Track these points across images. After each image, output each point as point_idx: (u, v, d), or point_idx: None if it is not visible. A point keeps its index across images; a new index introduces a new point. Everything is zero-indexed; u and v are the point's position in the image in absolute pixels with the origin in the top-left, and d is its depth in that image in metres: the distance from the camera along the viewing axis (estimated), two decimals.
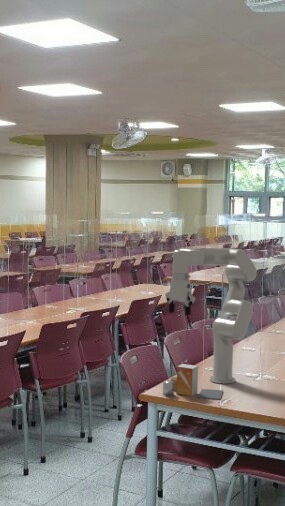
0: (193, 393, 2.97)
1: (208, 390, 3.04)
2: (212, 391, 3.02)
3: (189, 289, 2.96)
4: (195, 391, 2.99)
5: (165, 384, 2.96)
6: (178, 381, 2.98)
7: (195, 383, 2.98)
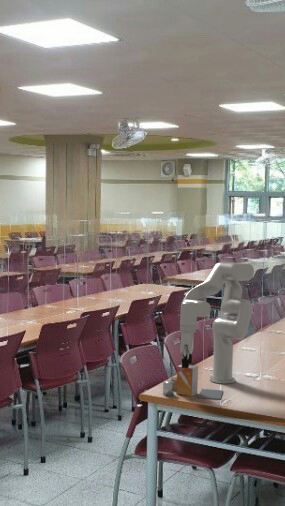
0: (193, 393, 2.97)
1: (208, 390, 3.04)
2: (212, 391, 3.02)
3: None
4: (195, 391, 2.99)
5: (165, 384, 2.96)
6: (178, 381, 2.98)
7: (195, 383, 2.98)
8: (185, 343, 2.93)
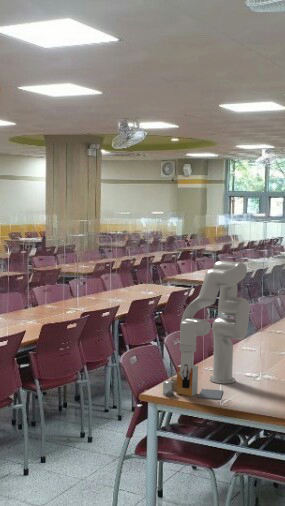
0: (193, 393, 2.97)
1: (208, 390, 3.04)
2: (212, 391, 3.02)
3: None
4: (195, 391, 2.99)
5: (165, 384, 2.96)
6: (178, 381, 2.98)
7: (195, 383, 2.98)
8: (185, 363, 2.94)
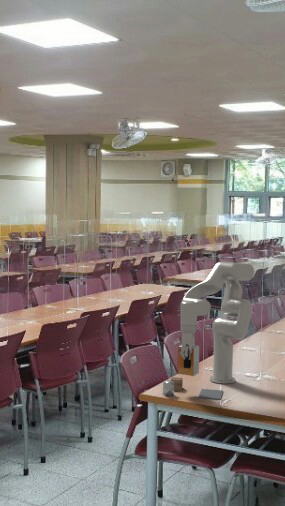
0: (195, 373, 2.97)
1: (208, 390, 3.04)
2: (212, 391, 3.02)
3: None
4: (197, 371, 2.99)
5: (165, 384, 2.96)
6: (179, 361, 2.98)
7: (196, 362, 2.98)
8: (186, 343, 2.94)
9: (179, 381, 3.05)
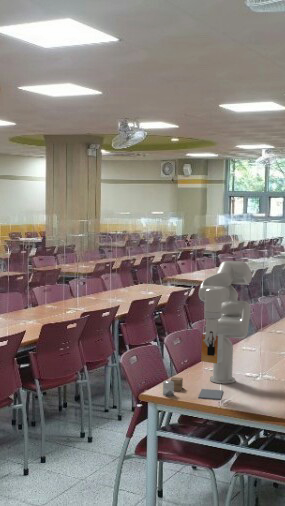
0: (218, 360, 2.95)
1: (208, 390, 3.04)
2: (212, 391, 3.02)
3: None
4: (220, 359, 2.97)
5: (165, 384, 2.96)
6: (203, 349, 2.96)
7: (220, 350, 2.96)
8: (210, 330, 2.92)
9: (179, 381, 3.05)
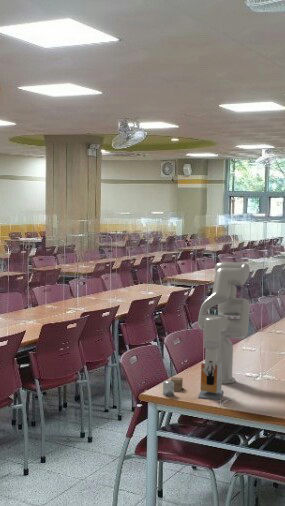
0: (218, 390, 2.96)
1: None
2: None
3: None
4: (219, 388, 2.97)
5: (165, 384, 2.96)
6: (202, 378, 2.97)
7: (219, 379, 2.97)
8: (210, 359, 2.93)
9: (179, 381, 3.05)
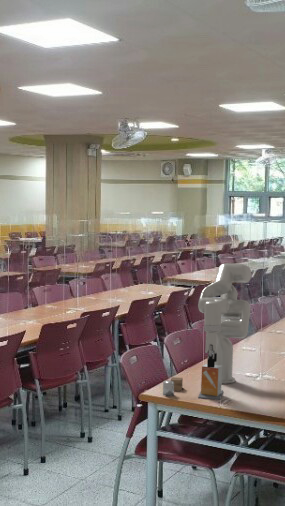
0: (218, 393, 2.96)
1: None
2: None
3: None
4: (220, 391, 2.97)
5: (165, 384, 2.96)
6: (203, 381, 2.96)
7: (220, 382, 2.97)
8: (210, 343, 2.93)
9: (179, 381, 3.05)
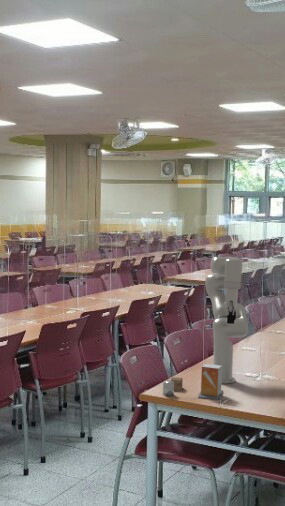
0: (218, 393, 2.96)
1: None
2: None
3: None
4: (220, 391, 2.97)
5: (165, 384, 2.96)
6: (203, 381, 2.96)
7: (219, 382, 2.97)
8: (230, 299, 2.96)
9: (179, 381, 3.05)
